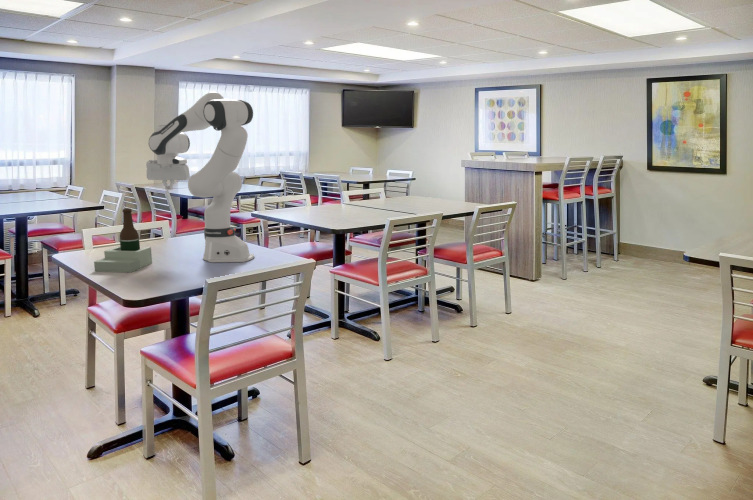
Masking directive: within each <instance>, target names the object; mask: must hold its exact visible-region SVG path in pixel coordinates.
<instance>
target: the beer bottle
mask: <svg viewBox="0 0 753 500" xmlns="http://www.w3.org/2000/svg"><path fill="white" fill-rule="evenodd" d="M132 211H133V210H132V209H131V208H129V207H128V208H122V213H123V214H122V216H123V218H122V219H123V225H122V226H123V227H122V229H121V231H120V232H119V233H120V234H119V246H120V248H121V251H137V250H140V249H141V246H140V245H141V244H140V235H139V232H138V231H137V229H136V228H135V227H134V222H133V221H134V220H133V213H132Z"/></svg>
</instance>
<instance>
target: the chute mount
mask: <svg viewBox="0 0 753 500" xmlns="http://www.w3.org/2000/svg"><path fill="white" fill-rule="evenodd" d="M103 253H104V257H103V258H101V259H97V260H95V261H93V263H94V264H93V266H94V272H105V273H106V272H107V273H108V272H109V273H111V272H112V273H134V272H136V271H138V270H140V269H141V268H144V267H146V266H149V265H151V264H152V263H153V257H152V247H151V246H145V247H142V248H140V250H137V251H121V248H120V245H119V246H115V247H113V248H109V249H107V250H105V251H104V252H103Z"/></svg>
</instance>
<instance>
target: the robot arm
mask: <svg viewBox="0 0 753 500" xmlns="http://www.w3.org/2000/svg"><path fill="white" fill-rule="evenodd" d="M222 95H223V94H221V93H219V92H218V91H217V92H216V91H209V92H207V93H206V94H204V95H203V96H202V97H200V98H199V99H198V100H196V102H195V103H194V104H193V105H192V106H191V107H189V108H188V109H187V110H186V111H184V112H183V113H181V114H179V115H178V116H176V117H175V118H173V119H172V120H171V121H169V122H168V123H167V124H161V125H158V126H156V129H155V131H154V132H152V134H151V135H150V136H149V138H148V147H149V149H150V151H152V152H153V153H154V154H155V155H156V159H150V160H149V159H148V161H147V162H146V179H147V180H148V181H151V180H152V181H154V180H155V181H162V183H163V186H164V189H165V190H166V191H169V190H170V191H171V190H173V188H174V187H173V186H174V184H175V181H188V182H187V188H188V191H189V192H190V194H191V195H192V196H194V197H198V198H205V199H206V198H212V200H211V202H210V204H209V205H207V207H206V208H205V209H204V213H203V214H204V228H203V231H204V232H203V235H204V244H205V245H204V252H203V256H202V257H203V258H202V259H203V260H204V261H207V262H209V263H244V262H248V261H251V260H253V259H254V258H255V255H254V253H250V250H249V246H248V244H247V243H246V242H245V241H244V240H242V239H241V238H240V237H238V236H237V235H236V230H237V229H236V228H235V227H234V228H233V227H232V226H231V209H232V204H233V201H234V198H235V197H236V195H237V194H238V193H239V192H240V191H241V189H242V186H243V181H242V180H243V179H242V178H241V176H240V174H239V173H238V172H236V171H235V170H236V169H237V168H238V165H239V164H240V161H241V159H242V156H243V154H244V151H245V149H246V146H247V141H248V137H249V136H248V131H247V130H246V128H244V127H243V126H247V125H248V124H250V123H251V122H252V120H253V118H254V117H253V116H254V109H253V106H252V105H251V104H250V102H247V101H246V100H242V99H241V100H240V99H237V100H236V99H229V98H224V96H222ZM209 127H212V128H213V129H214V130H215V131H221V132H220V138H219V139H218V142H217V144H216V147H215V148H214V151H213V154H212V155H211V158H210V159H209V160H208V162H207V163H206V164H205V165H204V166H203V167H202V168H201V169H200V170H198V171H197V172H196V173H194V174H192V175H190V169H189V166H188V160H187V159H186V158H184V157H180V156H178V155H177V154H184V153H187V152H188V150H189V149H190V146H191V142H190V141H191V140H190V138H189V136H188V135H187V134H186V132H194V131H195V132H196V131H202V130H203V131H204V130H206V129H208V128H209ZM168 181H169V183H170V184H169V185H168V183H167V182H168Z"/></svg>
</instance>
